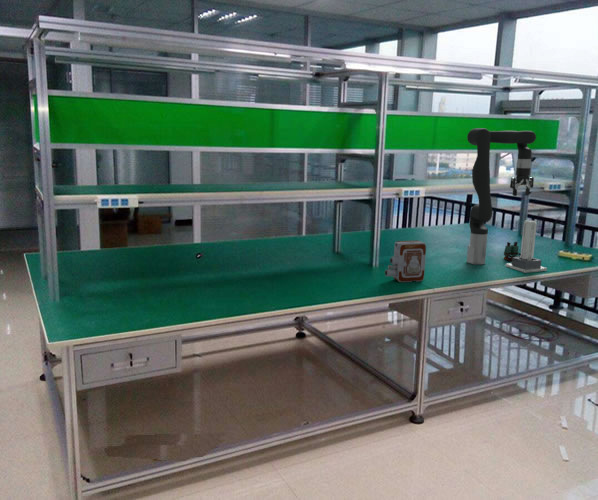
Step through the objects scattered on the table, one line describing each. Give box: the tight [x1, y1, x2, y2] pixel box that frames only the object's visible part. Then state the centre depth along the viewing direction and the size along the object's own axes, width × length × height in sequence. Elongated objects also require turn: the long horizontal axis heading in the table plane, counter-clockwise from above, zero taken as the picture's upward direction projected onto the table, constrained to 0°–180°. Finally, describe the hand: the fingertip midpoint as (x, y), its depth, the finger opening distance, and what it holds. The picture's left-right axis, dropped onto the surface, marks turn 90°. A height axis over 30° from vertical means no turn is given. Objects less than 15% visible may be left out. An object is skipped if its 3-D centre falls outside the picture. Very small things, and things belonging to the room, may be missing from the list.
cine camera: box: [384, 240, 427, 283], centre depth 275 cm, size 9×19×20 cm, turn 103°
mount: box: [504, 257, 548, 274], centre depth 304 cm, size 15×15×6 cm
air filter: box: [519, 219, 537, 261], centre depth 302 cm, size 6×6×25 cm
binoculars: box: [503, 241, 521, 262], centre depth 323 cm, size 9×11×10 cm
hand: (520, 195), depth 316 cm, fingers open, 8 cm apart
